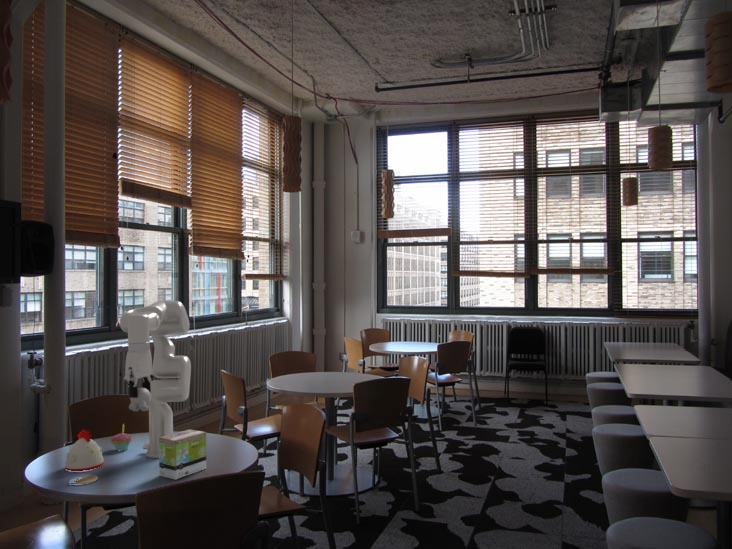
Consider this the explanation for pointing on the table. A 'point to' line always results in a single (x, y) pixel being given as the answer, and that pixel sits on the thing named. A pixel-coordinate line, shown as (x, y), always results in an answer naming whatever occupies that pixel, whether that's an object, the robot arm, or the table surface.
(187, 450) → the tea box
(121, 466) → the table surface
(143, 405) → the chubby cartoon animal
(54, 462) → the table surface
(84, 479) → the cork coaster
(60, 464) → the table surface
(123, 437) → the cupcake
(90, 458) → the white cream cake
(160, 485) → the table surface
